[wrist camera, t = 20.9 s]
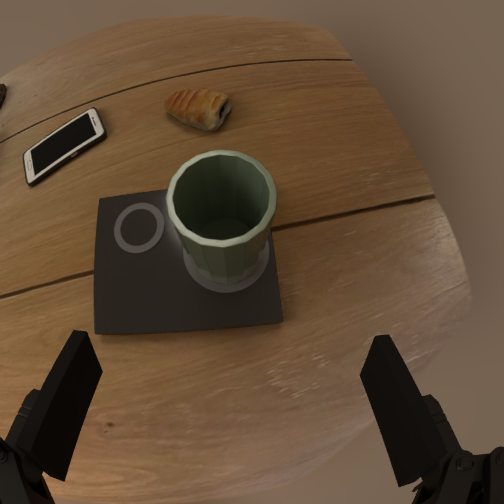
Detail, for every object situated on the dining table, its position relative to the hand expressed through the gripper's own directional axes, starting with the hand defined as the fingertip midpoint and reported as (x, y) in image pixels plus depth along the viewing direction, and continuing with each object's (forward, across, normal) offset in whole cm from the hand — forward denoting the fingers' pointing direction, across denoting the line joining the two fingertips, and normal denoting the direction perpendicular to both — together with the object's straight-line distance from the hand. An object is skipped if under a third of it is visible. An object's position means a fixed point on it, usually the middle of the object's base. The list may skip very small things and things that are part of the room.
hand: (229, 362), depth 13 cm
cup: (+19, -1, -4) cm, 19 cm away
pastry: (+35, -5, +10) cm, 37 cm away
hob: (+20, -6, -6) cm, 22 cm away
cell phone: (+32, -27, +7) cm, 43 cm away
